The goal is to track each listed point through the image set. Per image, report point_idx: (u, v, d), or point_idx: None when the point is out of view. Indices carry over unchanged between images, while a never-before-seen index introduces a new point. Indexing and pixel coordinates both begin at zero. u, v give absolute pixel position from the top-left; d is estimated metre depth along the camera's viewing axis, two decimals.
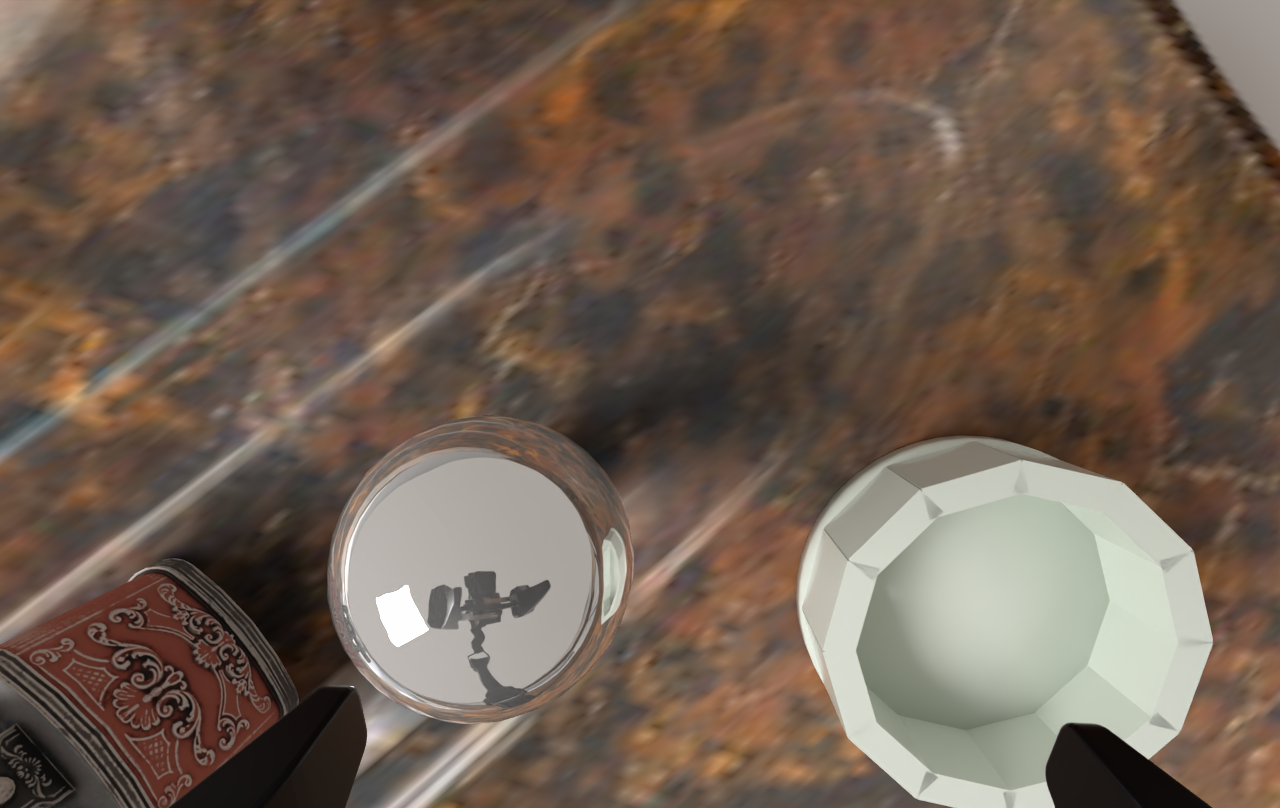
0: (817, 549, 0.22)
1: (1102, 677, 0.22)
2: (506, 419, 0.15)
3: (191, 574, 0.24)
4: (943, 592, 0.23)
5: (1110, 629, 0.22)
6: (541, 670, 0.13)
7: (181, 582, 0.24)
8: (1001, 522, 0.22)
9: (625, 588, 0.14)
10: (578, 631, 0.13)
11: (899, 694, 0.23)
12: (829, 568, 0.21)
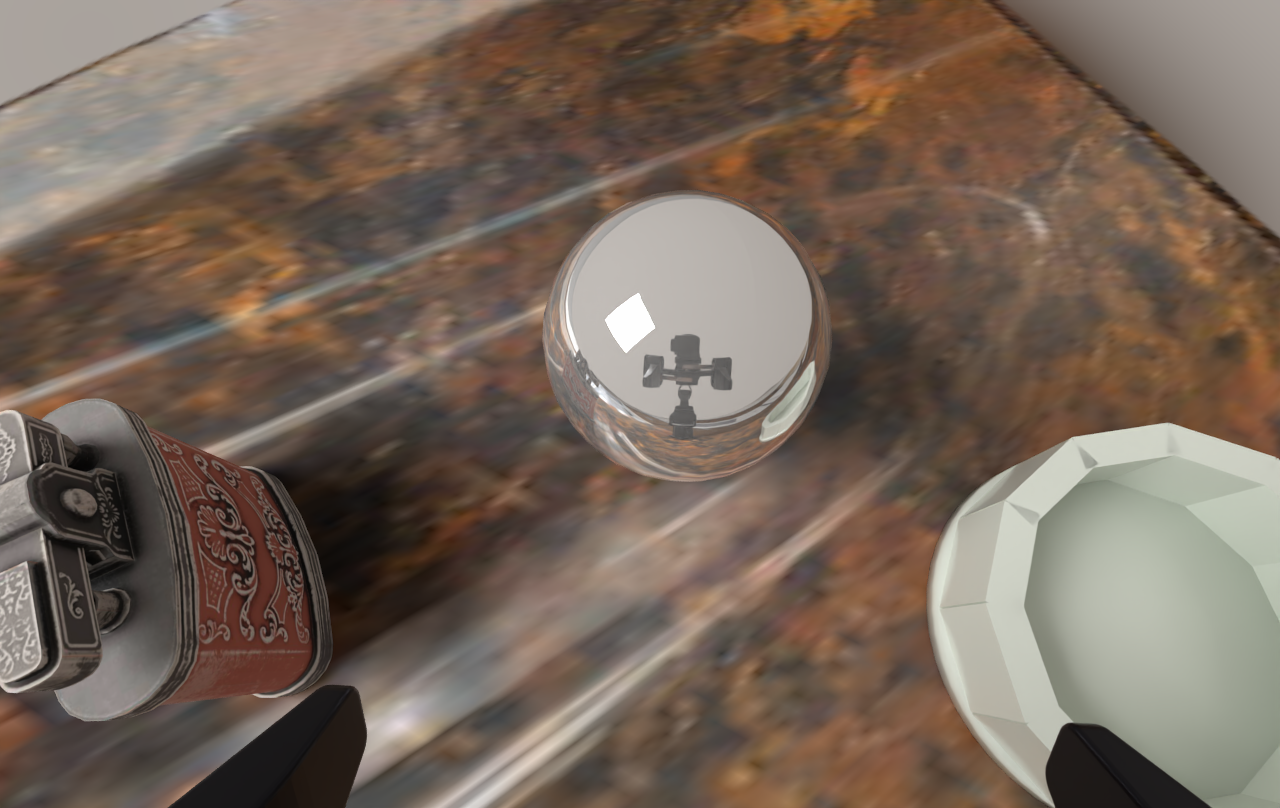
0: (953, 541, 0.21)
1: None
2: None
3: (279, 486, 0.23)
4: (1098, 611, 0.20)
5: None
6: (773, 338, 0.12)
7: (269, 486, 0.22)
8: (1148, 539, 0.21)
9: (830, 351, 0.14)
10: (807, 324, 0.13)
11: None
12: (977, 534, 0.19)
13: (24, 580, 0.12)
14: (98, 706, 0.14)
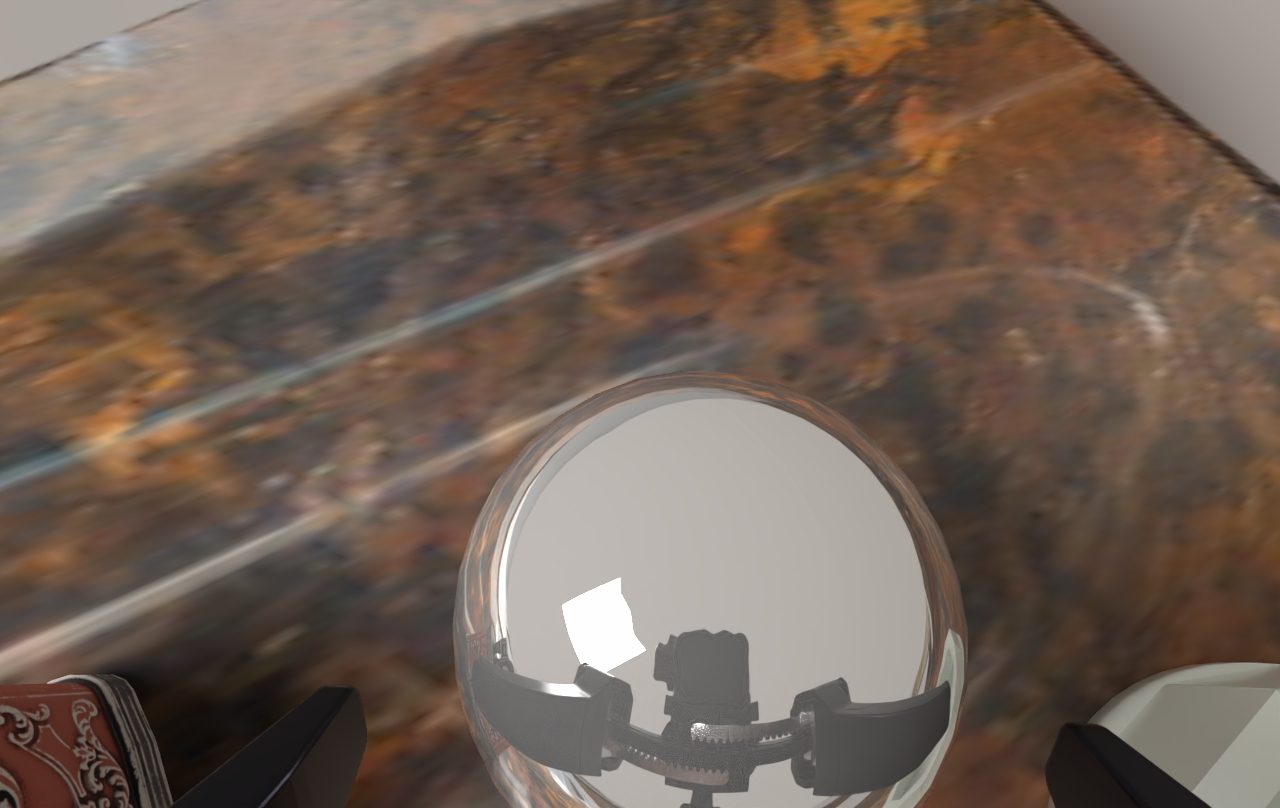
0: None
1: None
2: None
3: (125, 701, 0.16)
4: None
5: None
6: (889, 742, 0.06)
7: (107, 706, 0.16)
8: None
9: None
10: (944, 681, 0.07)
11: None
12: None
13: None
14: None
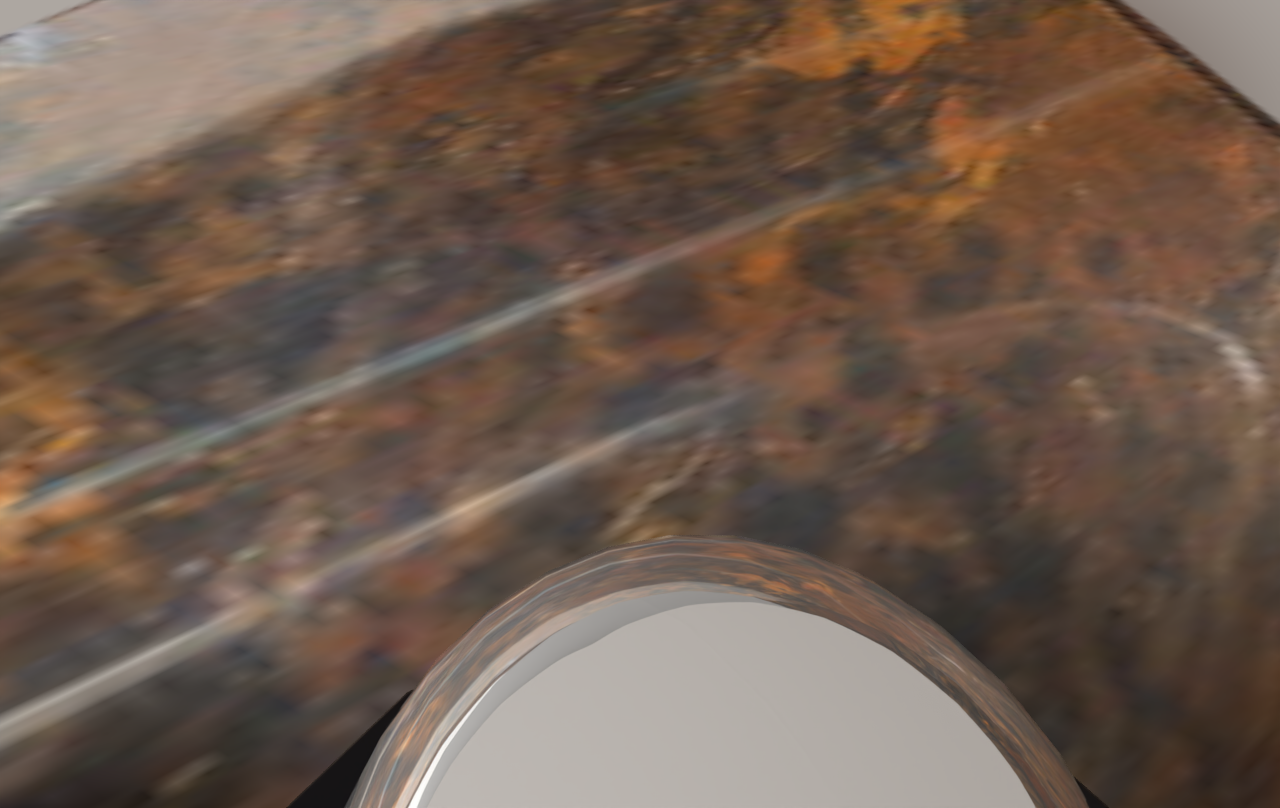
0: None
1: None
2: None
3: None
4: None
5: None
6: None
7: None
8: None
9: None
10: None
11: None
12: None
13: None
14: None
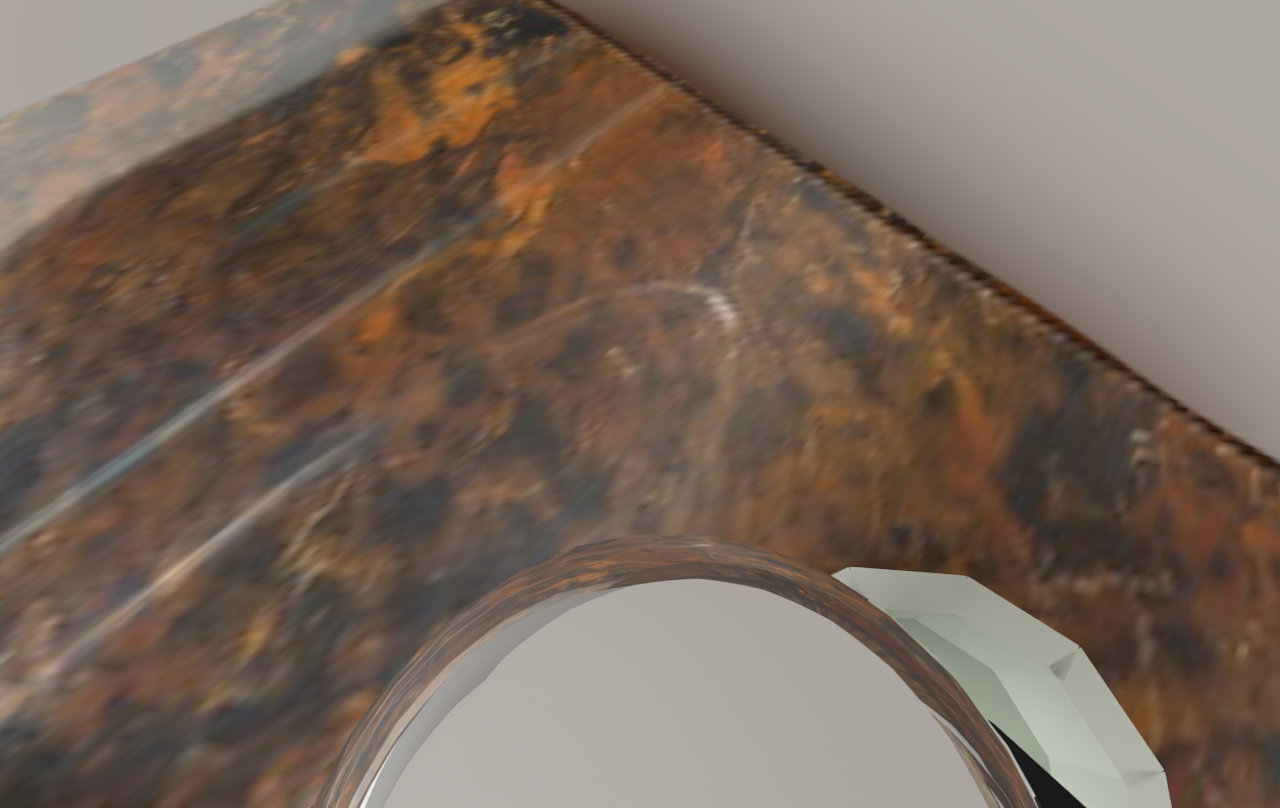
0: None
1: None
2: None
3: None
4: None
5: None
6: None
7: None
8: None
9: None
10: None
11: None
12: None
13: None
14: None
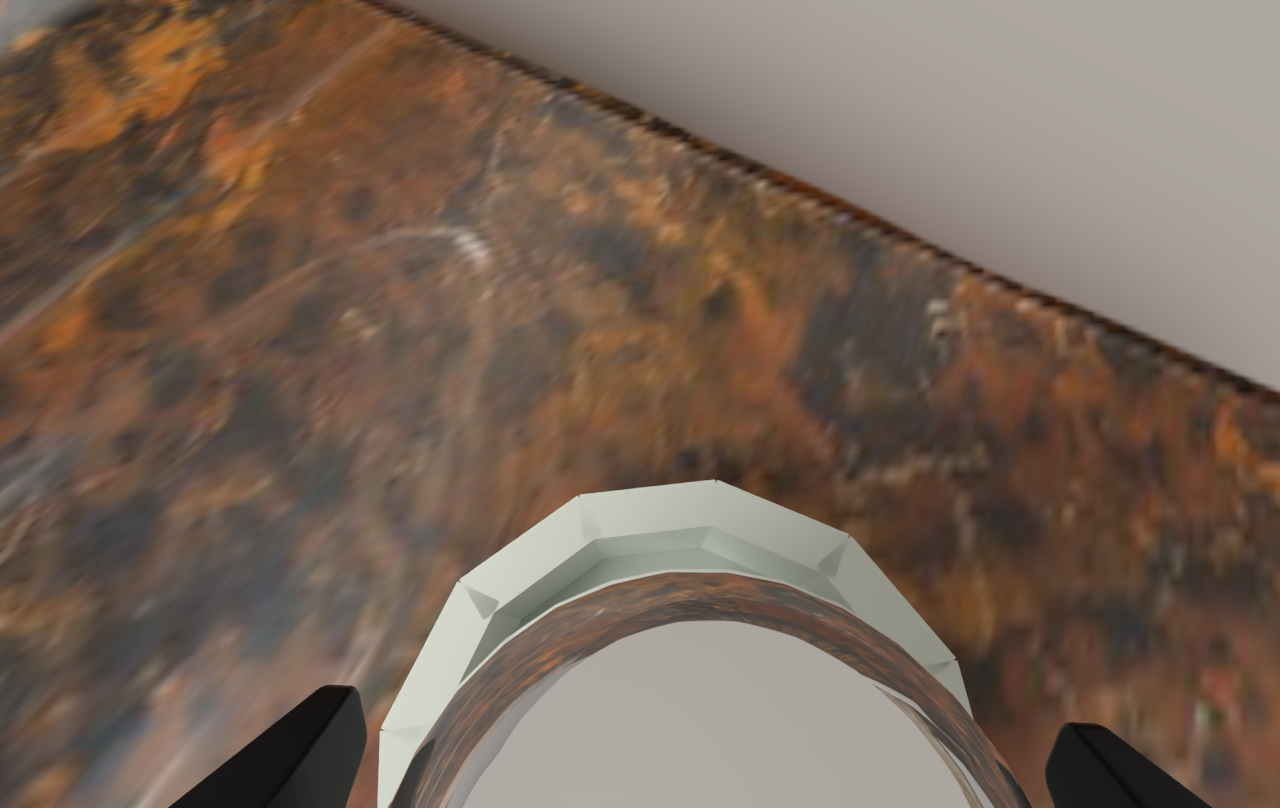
0: None
1: None
2: None
3: None
4: None
5: None
6: None
7: None
8: None
9: None
10: None
11: None
12: None
13: None
14: None
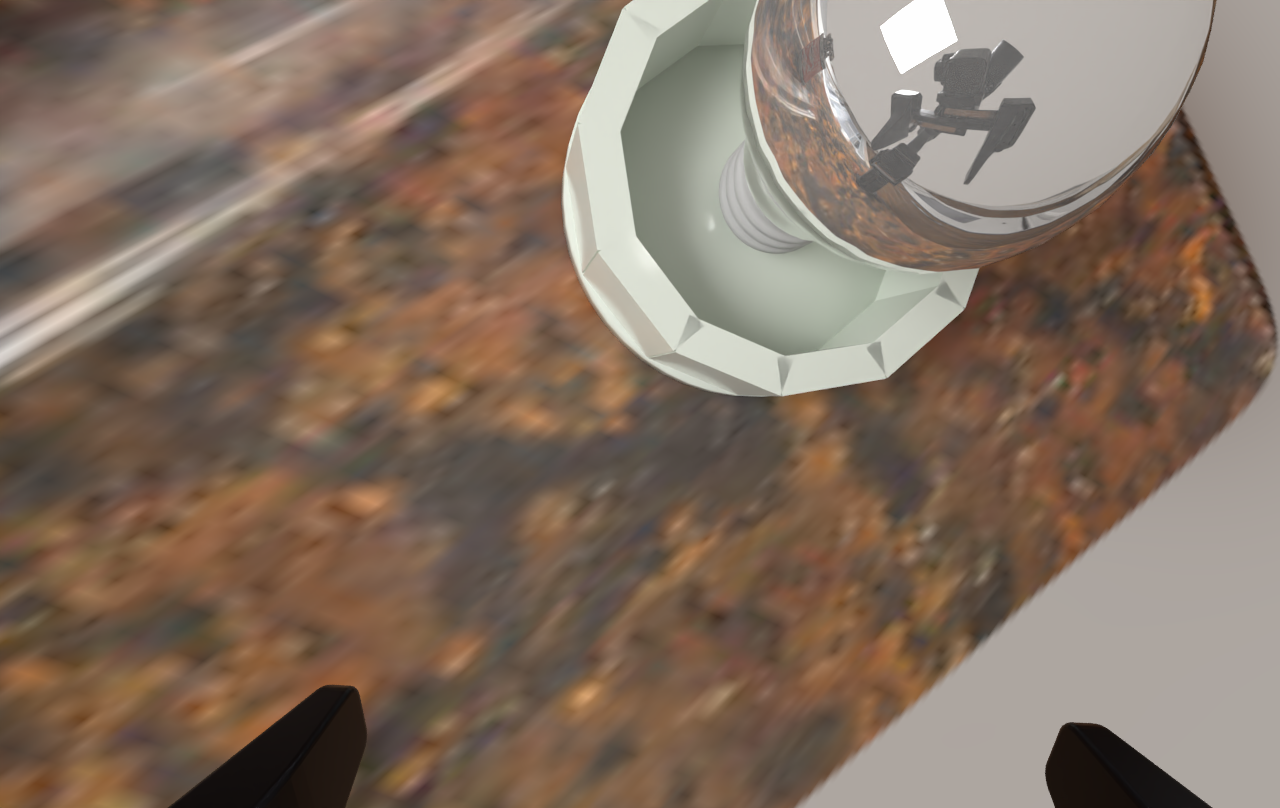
0: None
1: (889, 295, 0.19)
2: None
3: None
4: None
5: None
6: (1134, 119, 0.08)
7: None
8: None
9: None
10: (1163, 128, 0.09)
11: None
12: None
13: None
14: None
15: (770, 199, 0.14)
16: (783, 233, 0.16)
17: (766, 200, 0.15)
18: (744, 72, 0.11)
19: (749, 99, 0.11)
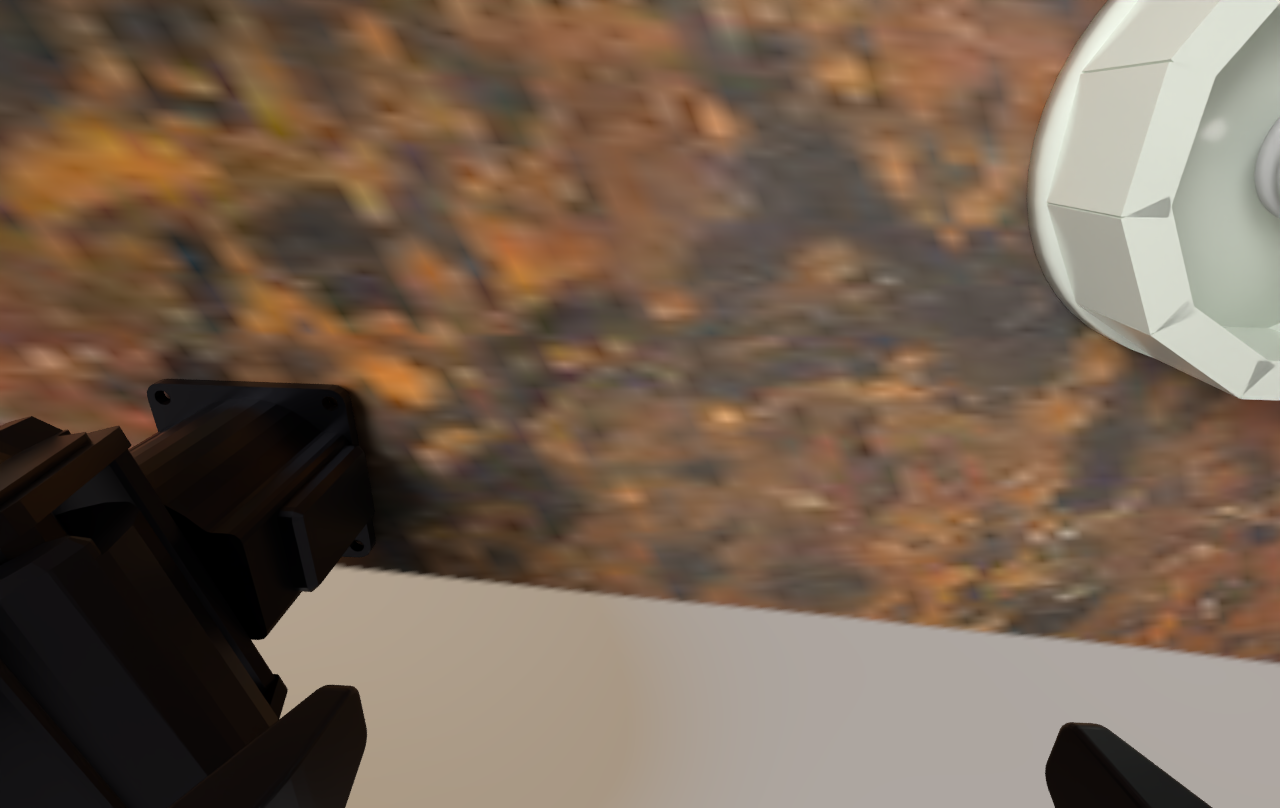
0: None
1: None
2: None
3: None
4: None
5: None
6: None
7: None
8: None
9: None
10: None
11: None
12: None
13: None
14: None
15: None
16: None
17: None
18: None
19: None
